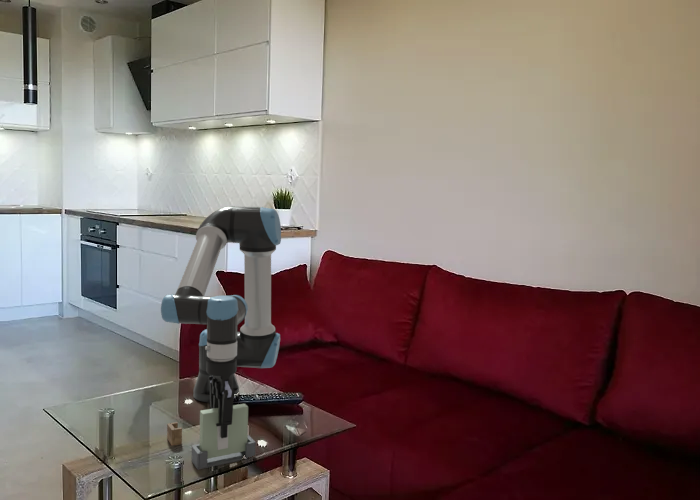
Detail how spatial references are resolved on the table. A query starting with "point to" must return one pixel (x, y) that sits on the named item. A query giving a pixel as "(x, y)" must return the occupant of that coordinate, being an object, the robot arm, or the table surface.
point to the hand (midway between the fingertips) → (220, 445)
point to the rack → (174, 434)
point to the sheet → (235, 431)
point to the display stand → (202, 461)
